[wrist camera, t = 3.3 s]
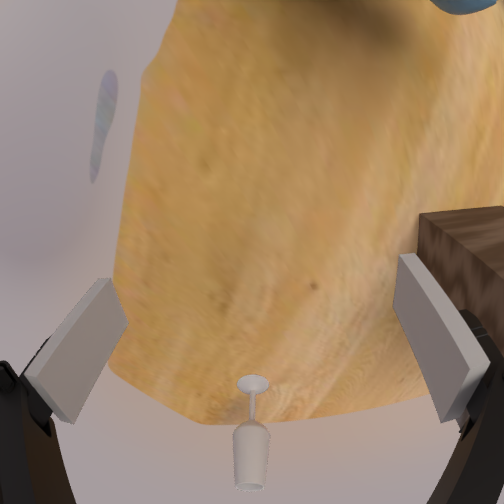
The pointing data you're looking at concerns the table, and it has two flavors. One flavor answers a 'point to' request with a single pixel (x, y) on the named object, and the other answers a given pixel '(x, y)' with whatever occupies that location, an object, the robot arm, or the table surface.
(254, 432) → the champagne flute
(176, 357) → the table surface
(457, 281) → the dark stand
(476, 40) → the table surface
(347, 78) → the table surface
